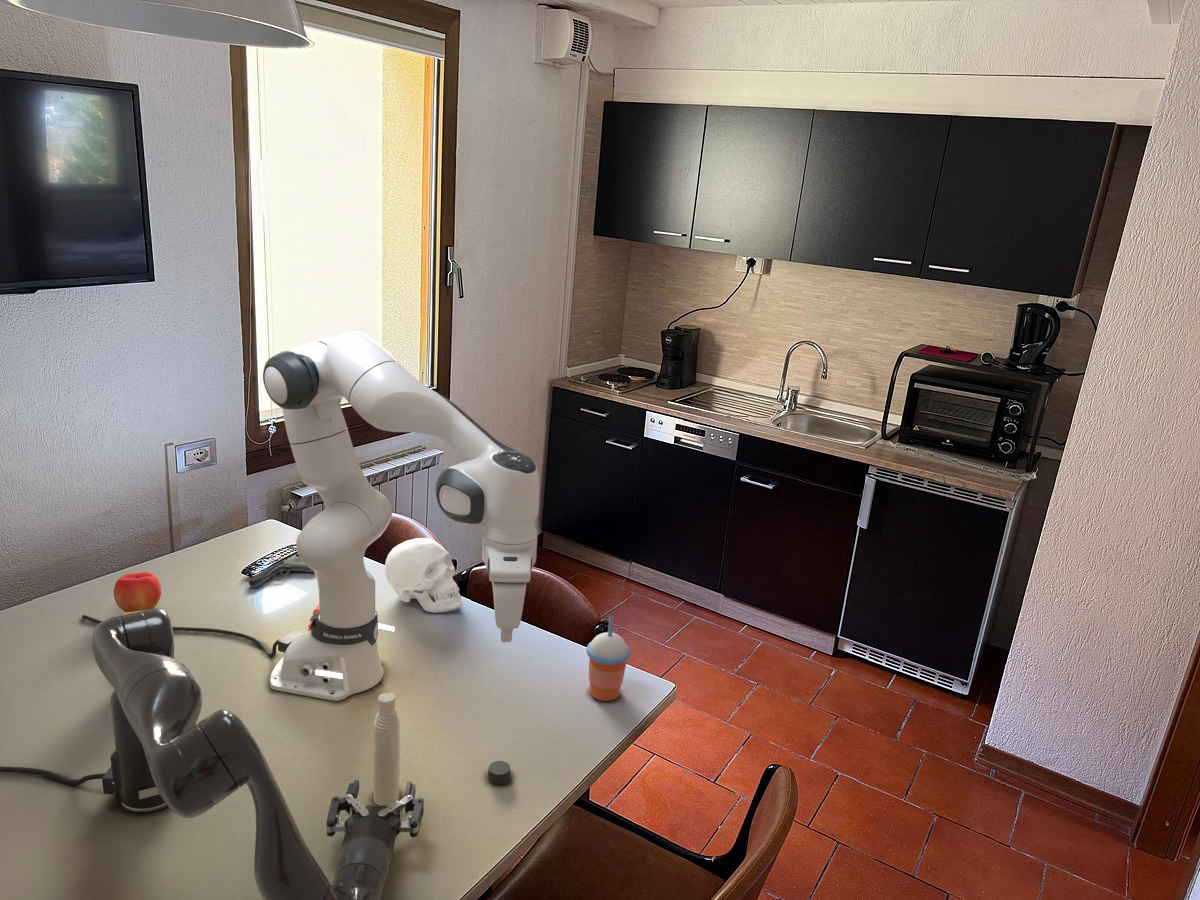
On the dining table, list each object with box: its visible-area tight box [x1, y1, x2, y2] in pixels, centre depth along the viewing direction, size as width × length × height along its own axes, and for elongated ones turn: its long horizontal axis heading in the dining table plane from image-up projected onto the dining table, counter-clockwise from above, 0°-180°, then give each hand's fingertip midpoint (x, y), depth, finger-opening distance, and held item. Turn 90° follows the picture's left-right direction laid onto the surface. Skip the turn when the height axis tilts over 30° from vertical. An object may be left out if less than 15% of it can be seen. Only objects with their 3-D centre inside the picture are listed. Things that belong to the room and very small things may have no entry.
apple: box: [113, 571, 162, 613], centre depth 195 cm, size 10×10×10 cm
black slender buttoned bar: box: [248, 554, 314, 588], centre depth 220 cm, size 2×18×12 cm
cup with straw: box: [586, 615, 631, 702], centre depth 178 cm, size 9×9×18 cm
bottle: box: [373, 692, 401, 807], centre depth 143 cm, size 4×4×20 cm
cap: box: [487, 760, 511, 786], centre depth 152 cm, size 4×4×2 cm
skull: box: [384, 537, 465, 614], centre depth 211 cm, size 13×22×16 cm, turn 67°
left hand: (383, 784), depth 140 cm, fingers open, 8 cm apart
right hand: (506, 625), depth 144 cm, fingers open, 8 cm apart
